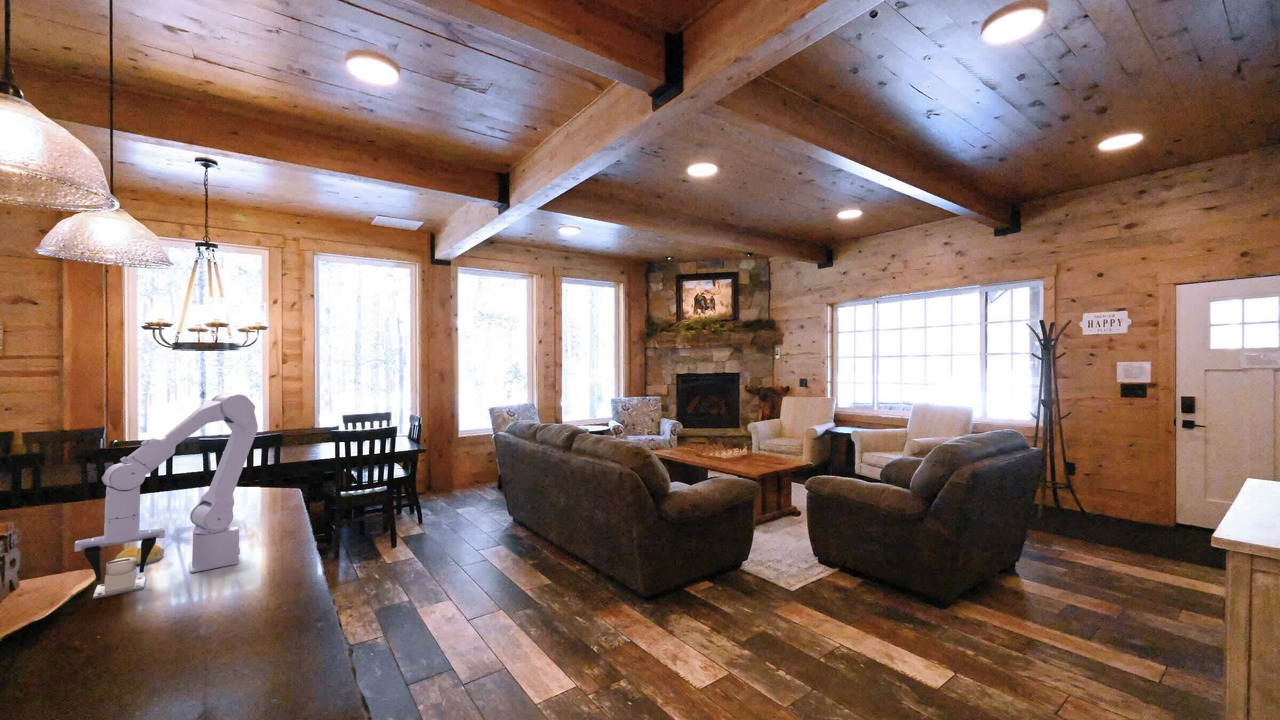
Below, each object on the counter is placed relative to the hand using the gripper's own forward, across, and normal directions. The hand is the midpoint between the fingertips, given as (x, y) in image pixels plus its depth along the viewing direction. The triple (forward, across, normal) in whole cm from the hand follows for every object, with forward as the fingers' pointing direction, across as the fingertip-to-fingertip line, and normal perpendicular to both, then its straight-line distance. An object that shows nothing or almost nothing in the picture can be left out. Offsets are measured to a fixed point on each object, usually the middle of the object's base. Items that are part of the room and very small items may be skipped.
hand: (120, 575), depth 117 cm
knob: (+2, 0, 0) cm, 2 cm away
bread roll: (+3, -2, -20) cm, 21 cm away
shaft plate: (+3, 0, 0) cm, 3 cm away
